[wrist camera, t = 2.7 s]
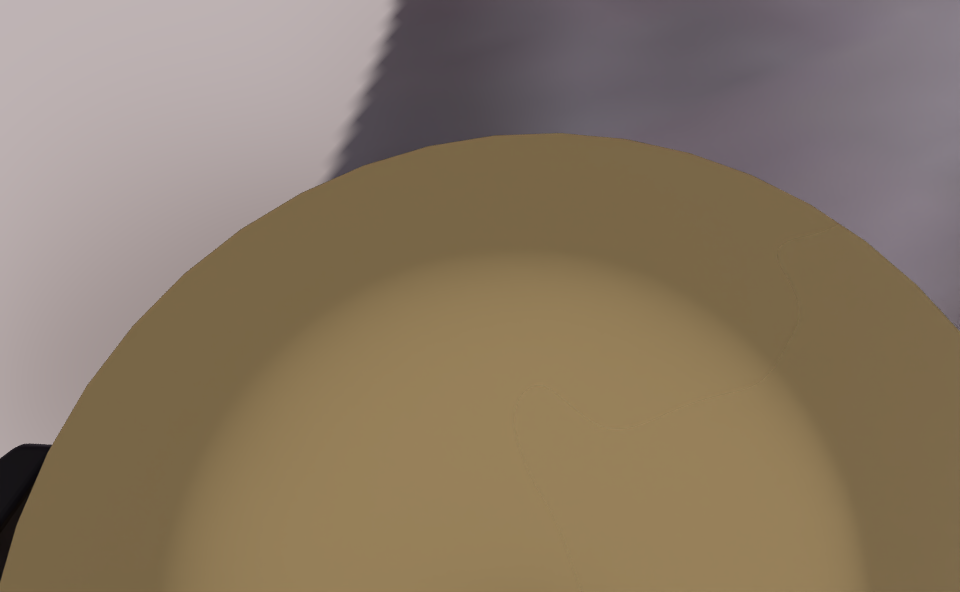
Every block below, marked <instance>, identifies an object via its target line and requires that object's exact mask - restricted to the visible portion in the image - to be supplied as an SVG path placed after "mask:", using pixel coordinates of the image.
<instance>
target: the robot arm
mask: <svg viewBox="0 0 960 592" xmlns="http://www.w3.org/2000/svg"><path fill="white" fill-rule="evenodd" d="M51 446H52V445H45V444H23V445H20V446H18V447H15V448H14V449H12V450H11V451H10V452H8V453H7V454H6V455H4V456H3V457H2V458H0V581H1V578H2V574H3V571H4V567H5V564H6V560H7V557H8V553H9V550H10V546H11V543H12V539H13V536H14V533H15V529H16V526H17V523H18V521H19V518H20V516H21V514H22V511H23V509H24V507H25V504H26V502H27V500H28V497H29V495H30V493H31V490H32V488H33V486H34V483H35V481H36V479H37V477H38V474H39V472H40V470H41V467H42V465H43V463H44V460H45V458H46V456H47V453H48V451H49V450H50V448H51Z"/></svg>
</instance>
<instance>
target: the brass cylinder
mask: <svg viewBox="0 0 960 592" xmlns="http://www.w3.org/2000/svg"><path fill="white" fill-rule="evenodd" d="M0 592H960V331H959V330H958V329H957V328H956V327H955V326H954V325H953V324H952V323H951V322H950V320H949V319H948V318H947V317H946V316H945V315H944V314H943V313H942V312H941V311H940V310H939V309H938V307H937V306H936V305H935V304H934V303H933V302H932V301H931V300H930V299H929V298H928V297H927V296H926V294H925V293H924V292H923V291H922V290H921V289H920V288H919V287H918V286H917V285H916V284H915V283H914V282H913V281H912V280H910V279H909V278H908V277H907V276H906V275H904V274H903V273H902V272H901V271H900V270H899V269H897V268H896V267H895V266H894V265H893V264H892V263H890V262H889V261H888V260H887V259H886V258H885V257H883V256H882V255H881V254H880V253H879V252H877V251H876V250H875V249H874V248H873V247H872V246H870V245H869V244H868V243H867V242H866V241H864V240H863V239H861V238H860V237H858V236H857V235H855V234H854V233H852V232H851V231H849V230H848V229H846V228H845V227H843V226H842V225H840V224H839V223H837V222H836V221H834V220H833V219H831V218H830V217H828V216H827V215H825V214H824V213H822V212H821V211H819V210H818V209H816V208H815V207H813V206H812V205H810V204H808V203H806V202H804V201H802V200H800V199H798V198H796V197H794V196H792V195H790V194H788V193H786V192H784V191H782V190H780V189H778V188H776V187H774V186H772V185H770V184H768V183H766V182H764V181H762V180H760V179H758V178H756V177H754V176H752V175H750V174H747V173H744V172H741V171H738V170H735V169H733V168H730V167H727V166H724V165H721V164H719V163H716V162H713V161H710V160H707V159H705V158H702V157H699V156H696V155H693V154H690V153H686V152H682V151H677V150H673V149H668V148H664V147H659V146H655V145H650V144H645V143H641V142H636V141H632V140H627V139H619V138H608V137H597V136H586V135H575V134H564V133H552V134H523V135H495V136H488V137H482V138H476V139H470V140H464V141H458V142H452V143H446V144H439V145H433V146H428V147H424V148H421V149H418V150H414V151H411V152H408V153H404V154H401V155H398V156H394V157H391V158H387V159H384V160H381V161H377V162H374V163H371V164H367V165H364V166H362V167H359V168H357V169H355V170H353V171H350V172H348V173H346V174H343V175H341V176H339V177H337V178H334V179H332V180H330V181H328V182H325V183H323V184H321V185H318V186H316V187H314V188H312V189H309V190H307V191H305V192H303V193H301V194H299V195H297V196H296V197H294V198H292V199H291V200H289V201H287V202H286V203H284V204H282V205H281V206H279V207H277V208H276V209H274V210H272V211H271V212H269V213H267V214H266V215H264V216H262V217H261V218H259V219H257V220H256V221H254V222H252V223H251V224H249V225H247V226H246V227H244V228H242V229H241V230H239V231H238V232H237V233H236V234H234V235H233V236H232V237H231V238H229V239H228V240H227V241H225V242H224V243H223V244H222V245H220V246H219V247H218V248H217V249H215V250H214V251H213V252H212V253H210V254H209V255H208V256H206V257H205V258H204V259H203V260H201V261H200V262H199V263H197V264H196V265H195V266H194V267H192V268H191V269H190V270H189V271H187V272H186V273H185V274H184V275H183V276H182V277H181V278H180V279H179V280H178V281H177V282H176V283H175V284H174V285H173V286H172V287H171V288H170V289H169V290H168V291H167V292H166V293H165V294H164V295H163V296H162V297H161V298H160V299H159V300H158V301H157V302H156V303H155V304H154V305H153V306H152V307H151V308H150V309H149V310H148V311H147V312H146V313H145V314H144V315H143V316H142V317H141V318H140V319H139V320H138V321H137V323H135V324H134V325H133V326H132V328H131V329H130V330H129V332H128V333H127V335H126V336H125V337H124V338H123V340H122V341H121V342H120V343H119V345H118V346H117V347H116V349H115V350H114V351H113V352H112V354H111V355H110V356H109V358H108V359H107V360H106V362H105V363H104V364H103V366H102V367H101V368H100V369H99V371H98V372H97V373H96V375H95V376H94V377H93V379H92V380H91V381H90V382H89V384H88V385H87V386H86V388H85V390H84V392H83V394H82V395H81V397H80V398H79V400H78V402H77V404H76V405H75V407H74V409H73V410H72V412H71V414H70V416H69V417H68V419H67V421H66V422H65V424H64V426H63V427H62V429H61V431H60V433H59V434H58V436H57V438H56V439H55V441H54V443H53V445H52V446H51V448H50V450H49V451H48V453H47V456H46V458H45V460H44V463H43V465H42V467H41V470H40V472H39V474H38V477H37V479H36V481H35V483H34V486H33V488H32V490H31V493H30V495H29V497H28V500H27V502H26V504H25V507H24V509H23V511H22V514H21V516H20V518H19V521H18V523H17V526H16V529H15V533H14V536H13V539H12V543H11V546H10V550H9V553H8V557H7V560H6V564H5V567H4V571H3V574H2V578H1V581H0Z"/></svg>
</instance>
